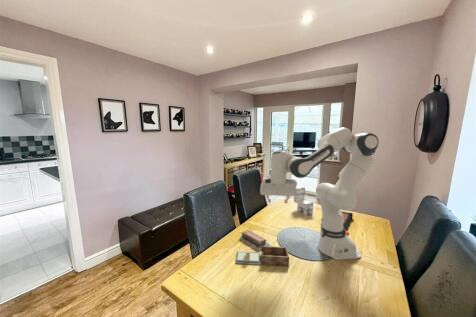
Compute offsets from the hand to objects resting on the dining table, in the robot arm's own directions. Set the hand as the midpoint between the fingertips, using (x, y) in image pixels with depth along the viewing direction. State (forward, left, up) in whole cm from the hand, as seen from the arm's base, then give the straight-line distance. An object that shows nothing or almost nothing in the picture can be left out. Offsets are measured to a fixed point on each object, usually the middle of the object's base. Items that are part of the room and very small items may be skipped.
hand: (277, 202), depth 113 cm
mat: (+16, +10, -29) cm, 35 cm away
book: (-51, -40, -30) cm, 71 cm away
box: (+2, +10, -29) cm, 31 cm away
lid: (+16, +10, -29) cm, 35 cm away
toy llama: (-29, -55, -29) cm, 69 cm away
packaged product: (+13, -7, -30) cm, 33 cm away
